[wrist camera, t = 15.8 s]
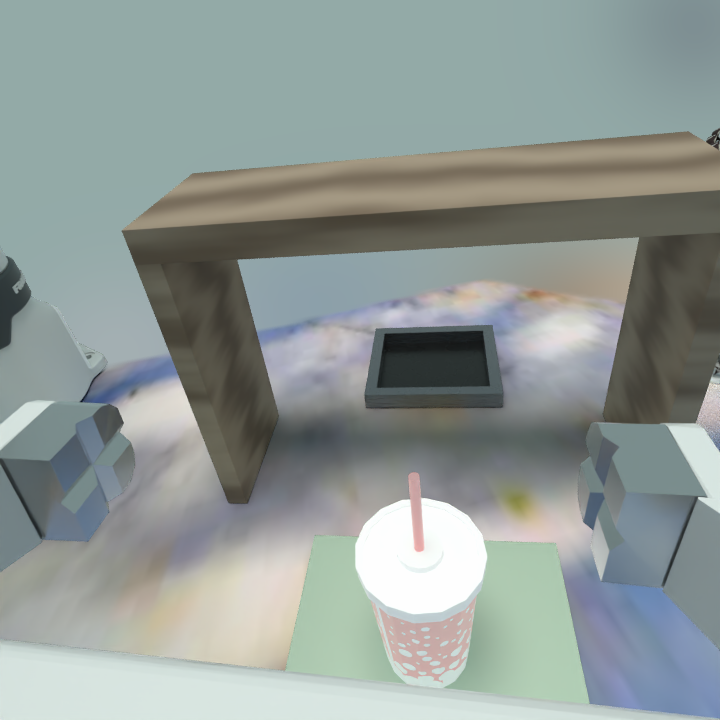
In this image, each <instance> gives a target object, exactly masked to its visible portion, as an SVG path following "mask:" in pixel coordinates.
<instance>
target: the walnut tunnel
mask: <svg viewBox="0 0 720 720" xmlns="http://www.w3.org/2000/svg"><path fill="white" fill-rule="evenodd" d="M122 233H123V235H124V238H125V240H126V242H127V245H128V248H129V250H130V253H131V255H132V258H133V261H134V263H135V266H136V268H137V270H138V273H139V276H140V278H141V281H142V283H143V286H144V288H145V291H146V293H147V296H148V298H149V301H150V304H151V306H152V309H153V311H154V314H155V317H156V319H157V322H158V324H159V327H160V329H161V332H162V334H163V337H164V339H165V342H166V345H167V347H168V350H169V352H170V355H171V357H172V360H173V362H174V365H175V368H176V370H177V373H178V375H179V378H180V380H181V383H182V385H183V388H184V390H185V393H186V396H187V398H188V401H189V403H190V406H191V408H192V411H193V413H194V416H195V418H196V421H197V424H198V426H199V429H200V431H201V434H202V436H203V439H204V441H205V444H206V446H207V449H208V452H209V454H210V457H211V459H212V462H213V464H214V467H215V469H216V472H217V475H218V477H219V480H220V482H221V485H222V487H223V490H224V492H225V495H226V497H227V500H228V503H248V500H249V497H250V494H251V492H252V489H253V486H254V483H255V481H256V478H257V475H258V472H259V470H260V467H261V464H262V461H263V458H264V456H265V453H266V450H267V447H268V445H269V442H270V439H271V436H272V433H273V431H274V428H275V425H276V422H277V420H278V417H279V414H278V410H277V407H276V403H275V399H274V395H273V392H272V388H271V384H270V381H269V377H268V373H267V369H266V366H265V362H264V358H263V354H262V351H261V347H260V343H259V340H258V336H257V332H256V328H255V325H254V321H253V317H252V313H251V310H250V306H249V302H248V299H247V295H246V291H245V287H244V284H243V280H242V276H241V273H240V269H239V265H238V262H237V260H238V259H255V258H272V257H273V258H274V257H292V256H310V255H328V254H345V253H362V252H363V253H364V252H382V251H399V250H418V249H436V248H454V247H472V246H488V245H489V246H490V245H508V244H526V243H543V242H561V241H578V240H597V239H615V238H633V237H639V242H638V247H637V251H636V256H635V261H634V266H633V271H632V276H631V281H630V285H629V290H628V295H627V300H626V305H625V310H624V314H623V319H622V324H621V329H620V334H619V339H618V343H617V348H616V353H615V358H614V363H613V368H612V373H611V377H610V382H609V387H608V392H607V397H606V402H605V406H604V411H603V415H604V418H605V421H606V422H607V423H638V424H660V423H696V420H697V417H698V414H699V411H700V409H701V406H702V403H703V400H704V397H705V394H706V391H707V388H708V385H709V383H710V380H711V377H712V374H713V371H714V368H715V365H716V362H717V360H718V357H719V354H720V151H719V150H718V149H716V148H715V147H713V146H711V145H710V144H708V143H706V142H705V141H703V140H702V139H700V138H698V137H697V136H695V135H693V134H692V133H690V132H676V133H664V134H653V135H641V136H629V137H617V138H606V139H595V140H582V141H570V142H559V143H547V144H536V145H523V146H511V147H500V148H488V149H476V150H465V151H452V152H440V153H429V154H417V155H405V156H393V157H382V158H370V159H358V160H346V161H334V162H323V163H311V164H299V165H287V166H276V167H264V168H252V169H240V170H228V171H216V172H204V173H194V174H191V175H190V176H189V177H188V178H186V179H185V180H184V181H183V182H181V183H180V184H179V185H178V186H176V187H175V188H174V189H173V190H172V191H170V192H169V193H168V194H167V195H165V196H164V197H163V198H162V199H160V200H159V201H158V202H157V203H155V204H154V205H153V206H152V207H151V208H149V209H148V210H147V211H146V212H144V213H143V214H142V215H141V216H139V217H138V218H137V219H136V220H134V221H133V222H132V223H131V224H129V225H128V226H127V227H125V228H124V229H123V230H122Z"/></svg>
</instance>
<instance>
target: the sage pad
mask: <svg viewBox="0 0 720 720" xmlns="http://www.w3.org/2000/svg"><path fill="white" fill-rule="evenodd" d="M357 540H358V537H354V536H324V535H315V537H314V541H313V546H312V550H311V555H310V559H309V564H308V569H307V573H306V578H305V582H304V587H303V591H302V596H301V601H300V605H299V610H298V614H297V619H296V623H295V628H294V632H293V637H292V642H291V646H290V651H289V655H288V660H287V664H286V669H285V671H292V672H301V673H310V674H320V675H329V676H338V677H347V678H356V679H365V680H374V681H384V682H393V683H402V684H406V683H405V682H404V681H403V680H402V679H401V678H400V677H399V676H398V675H397V674H396V673H395V672H394V670H393V668H392V666H391V663H390V661H389V659H388V657H387V654H386V650H385V647H384V644H383V640H382V637H381V633H380V630H379V627H378V623H377V620H376V617H375V613H374V610H373V607H372V603H371V600H370V599H369V598H368V596H367V594H366V592H365V590H364V588H363V586H362V584H361V582H360V580H359V578H358V573H357V571H356V566H355V544H356V542H357ZM484 545H485V549H486V553H487V563H486V570H485V575H484V579H483V584H482V588H481V591H480V592H479V593H478V594H477V597H476V604H475V611H474V618H473V625H472V632H471V639H470V646H469V652H468V657H467V662H466V666H465V669H464V670H463V671H462V673H461V674H460V675H459V677H458V678H457V679H456V681H455V682H453V683H451V684H449V685H447V686H445V687H444V688H447V689H457V690H466V691H475V692H484V693H493V694H502V695H511V696H521V697H530V698H539V699H548V700H557V701H566V702H575V703H584V704H590V703H589V698H588V694H587V689H586V684H585V679H584V675H583V670H582V665H581V660H580V656H579V651H578V646H577V641H576V637H575V632H574V627H573V622H572V617H571V613H570V608H569V603H568V598H567V594H566V589H565V584H564V579H563V575H562V570H561V565H560V560H559V556H558V551H557V546H556V543H537V542H506V541H484Z"/></svg>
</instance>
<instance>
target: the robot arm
mask: <svg viewBox="0 0 720 720" xmlns="http://www.w3.org/2000/svg"><path fill="white" fill-rule="evenodd" d="M106 365H107V360H106V359H105V357H104V356H103V354H101V353H99V352H97V351H95V350H92V349H90V348H88V347H86V346H83V345H82V344H80V343H78V342H77V340H76V338H75V337H74V335H73V333H72V331H71V330H70V328H69V326H68V324H67V322H66V321H65V319H64V317H63V315H62V314H61V312H60V310H59V309H58V308H57V307H56V306H51V305H50V304H49V303H47V302H43V301H40V300H37V299H35V298H34V297H32V296H31V290H30V289H29V287H28V285H27V283H26V281H25V277H24V275H23V273H22V272H21V270H19V268H18V267H17V265H16V264H15V262H14V260H13V259H11V258H10V257H8V256H5V254H4V252H3V250H2V249H1V247H0V572H1V571H3V570H4V569H5V568H7V567H8V566H10V565H11V564H12V563H14V562H15V561H17V560H18V559H19V558H21V557H22V556H24V555H25V554H26V553H28V552H29V551H30V550H32V549H33V548H35V547H36V546H37V545H39V544H40V543H42V540H63V541H84V542H88V541H89V539H90V538H91V537H92V535H93V534H94V532H95V531H96V530H97V528H98V527H99V525H100V524H101V523H102V521H103V520H104V518H105V517H106V516H107V514H108V513H109V506H108V502H109V501H110V500H112V499H114V498H115V497H117V496H119V495H120V494H122V493H123V492H124V490H125V489H126V487H127V486H128V484H129V483H130V481H131V479H132V475H133V471H134V468H135V454H134V450H133V447H132V444H131V442H130V441H129V440H128V439H126V438H125V437H124V436H123V435H122V434H121V433H120V430H121V428H122V426H123V424H124V422H123V420H122V417H121V415H120V413H119V410H118V408H116V407H114V406H112V405H110V404H101V403H84V402H80V401H81V400H82V398H83V397H84V396H85V394H86V392H87V390H88V388H89V386H90V384H91V382H92V380H93V378H94V377H95V376H96V375H98V374H99V373H100V372H101V371H102V370H103V369H104V367H105V366H106ZM585 443H586V446H587V449H588V452H589V454H590V456H589V457H588V458H587V459H586V460H585V461H583V462H582V463H581V465H580V471H579V477H578V500H579V507H580V511H581V515H582V519H583V522H584V523H585V524H586V525H588V526H589V527H590V528H591V529H592V530H593V535H592V539H591V543H590V546H591V550H592V553H593V556H594V559H595V563H596V566H597V569H598V573H599V576H600V579H601V582H607V583H617V584H627V585H636V586H646V587H656V588H663V592H664V593H665V594H666V595H667V596H668V597H669V598H670V599H671V600H672V601H673V602H674V603H675V604H676V605H677V606H678V608H679V609H680V610H681V611H682V612H683V613H684V614H685V615H686V616H687V617H688V618H689V619H690V620H691V621H692V622H693V623H694V624H695V625H696V626H697V627H698V628H699V629H700V630H701V631H702V632H703V633H704V634H705V636H706V637H707V638H708V639H709V640H710V641H711V642H712V643H713V644H714V645H715V646H716V647H717V648H718V649H719V650H720V452H719V450H718V449H717V447H716V446H715V444H714V443H713V441H712V440H711V439H710V437H709V436H708V434H707V433H706V431H705V430H704V428H703V427H701V426H699V425H698V424H696V423H660V424H638V423H607V422H592V423H591V425H590V427H589V429H588V432H587V437H586V441H585ZM41 539H42V540H41ZM0 720H720V718H711V717H701V716H692V715H683V714H674V713H665V712H656V711H647V710H638V709H629V708H620V707H611V706H602V705H593V704H584V703H575V702H566V701H557V700H548V699H539V698H530V697H521V696H511V695H502V694H493V693H484V692H475V691H466V690H457V689H447V688H438V687H429V686H420V685H411V684H402V683H393V682H384V681H374V680H365V679H356V678H347V677H338V676H329V675H320V674H310V673H301V672H292V671H283V670H274V669H265V668H256V667H247V666H238V665H229V664H220V663H211V662H202V661H193V660H184V659H175V658H166V657H157V656H148V655H139V654H130V653H121V652H112V651H103V650H94V649H85V648H76V647H67V646H58V645H49V644H40V643H31V642H22V641H13V640H4V639H0Z"/></svg>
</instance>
